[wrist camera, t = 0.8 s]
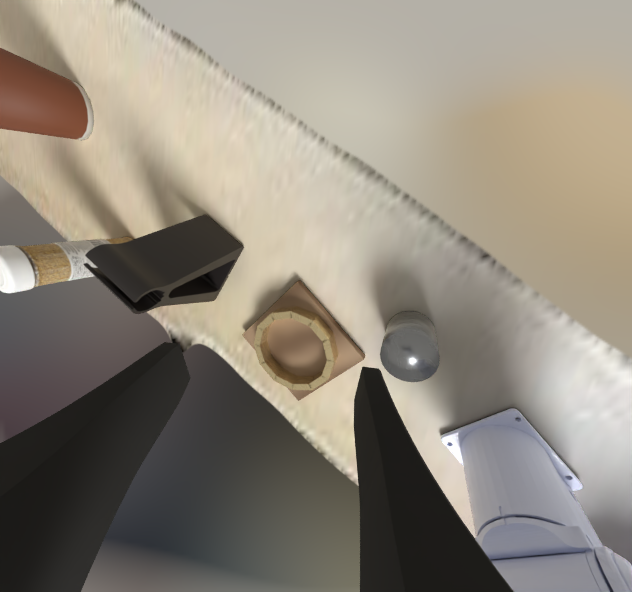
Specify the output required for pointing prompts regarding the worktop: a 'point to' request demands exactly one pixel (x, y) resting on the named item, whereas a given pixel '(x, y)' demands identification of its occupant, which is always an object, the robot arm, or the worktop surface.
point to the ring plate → (301, 343)
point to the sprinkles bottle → (46, 263)
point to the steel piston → (410, 347)
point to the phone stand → (167, 265)
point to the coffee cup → (42, 100)
